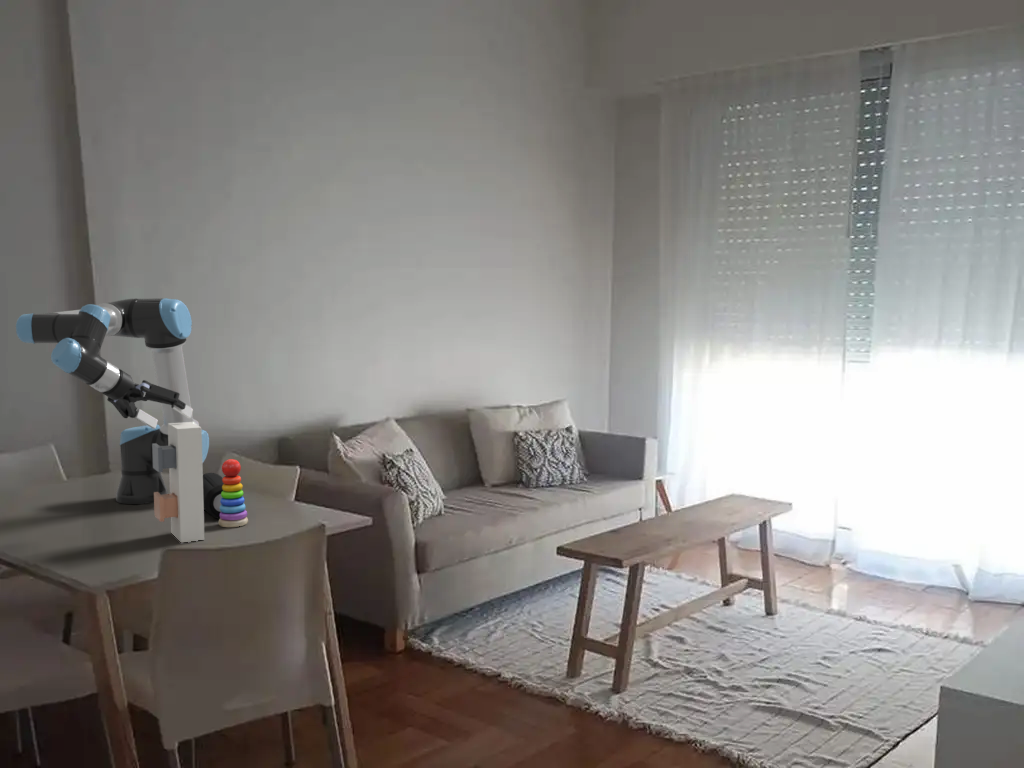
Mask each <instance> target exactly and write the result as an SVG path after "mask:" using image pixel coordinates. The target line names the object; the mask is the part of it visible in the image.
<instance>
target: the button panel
mask: <svg viewBox="0 0 1024 768" xmlns="http://www.w3.org/2000/svg"><path fill="white" fill-rule="evenodd" d="M202 430H203V429H202V426H200V425H199V426H198V425H196V424H194V423H192V422H183V423H168V446H169V445H174V446H175V447H176V464H177V468H168V471H169V472H168V473H169V479H168V481H169V494H173V493H174V494H175V495H177V498H178V517H170V533H172V534H173V535H174V536H175V537H176V538H177V539H178V540H179V541H180V542H188V543H192V542H191V541H196V542H199V541H198V540H204V541H205V511H204V510H205V509H204V501H203V475H204V472H203V471H204V470H203V469H204V467H203V466H204V465H203V463H202ZM172 534H171V535H172ZM173 535H172V536H173ZM174 536H173V537H174ZM175 537H174V538H175ZM176 538H175V539H176ZM177 539H176V540H177ZM178 540H177V541H178ZM179 541H178V542H179ZM180 542H179V543H180Z"/></svg>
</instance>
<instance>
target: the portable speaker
mask: <svg viewBox="0 0 1024 768" xmlns="http://www.w3.org/2000/svg"><path fill="white" fill-rule="evenodd" d="M222 479H223V477H222V476H221V475H220V474H217V473H214V472H207V473H203V501H204V510H205V511H206V513H208V514H209V515H210V516H211V517H213V518H214V519H218V520H219V519H220V513H221V511H220V506H221V505H222V504H221V502H220V500H221V498H222V496H221V492H222V491H224V490H223V489H222V486H223V484H224V483H223V481H222Z"/></svg>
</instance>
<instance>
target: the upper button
mask: <svg viewBox="0 0 1024 768" xmlns="http://www.w3.org/2000/svg"><path fill="white" fill-rule="evenodd" d="M152 453H153V468H154V469H155V470H156V471H158V472H161V473H163V471H164V470H165V469H169V468H177V464H176V447H175V446H174V445H169V446H159V445H158V444H156V443H155V444H152ZM163 469H164V470H163Z"/></svg>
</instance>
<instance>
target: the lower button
mask: <svg viewBox="0 0 1024 768" xmlns="http://www.w3.org/2000/svg"><path fill="white" fill-rule="evenodd" d="M153 509H154V510H153V511H154V517H155V518H156V519H157V520H158V521H159V523H162V522H163V523H164V522H165V519H168V518H171V517H178V498H177V495H175V494H174V493H173V494H170V493H168V494H163V495H161V494H160V493H159V492H154V502H153Z"/></svg>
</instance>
